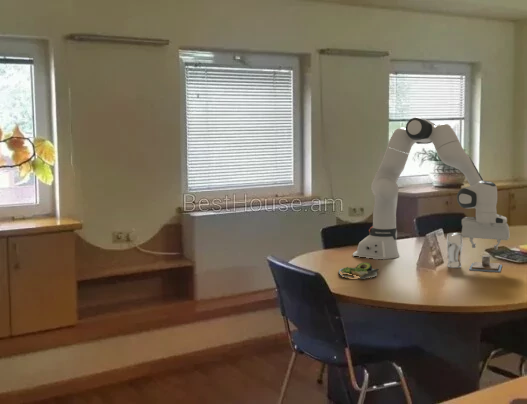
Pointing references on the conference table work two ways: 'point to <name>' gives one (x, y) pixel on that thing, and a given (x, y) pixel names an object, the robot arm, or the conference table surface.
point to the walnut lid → (485, 264)
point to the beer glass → (454, 249)
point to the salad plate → (360, 271)
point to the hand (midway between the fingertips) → (484, 248)
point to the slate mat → (486, 270)
